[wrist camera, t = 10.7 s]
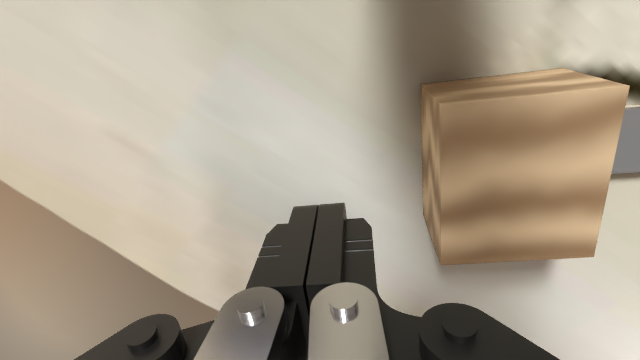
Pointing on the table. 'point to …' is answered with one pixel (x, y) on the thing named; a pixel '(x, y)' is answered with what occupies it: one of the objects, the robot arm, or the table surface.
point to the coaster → (628, 143)
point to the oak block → (518, 164)
